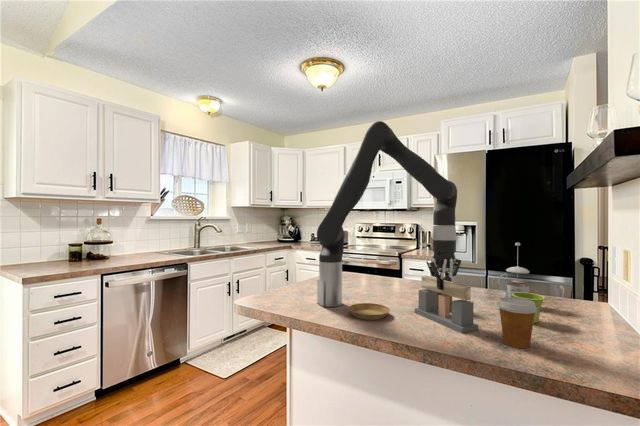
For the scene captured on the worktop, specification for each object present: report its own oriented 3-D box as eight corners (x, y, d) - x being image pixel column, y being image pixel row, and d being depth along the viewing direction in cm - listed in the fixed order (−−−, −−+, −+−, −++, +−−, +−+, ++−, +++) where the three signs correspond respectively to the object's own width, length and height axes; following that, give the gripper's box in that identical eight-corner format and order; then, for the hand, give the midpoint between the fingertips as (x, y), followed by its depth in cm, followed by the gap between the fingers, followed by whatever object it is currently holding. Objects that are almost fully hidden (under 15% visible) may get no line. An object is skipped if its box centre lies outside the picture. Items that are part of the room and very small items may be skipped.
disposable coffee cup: (490, 337, 96) (490, 297, 96) (520, 336, 97) (520, 296, 97) (511, 351, 86) (512, 306, 86) (545, 350, 87) (545, 305, 87)
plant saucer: (341, 312, 121) (341, 305, 121) (375, 307, 127) (375, 301, 127) (361, 324, 107) (361, 316, 107) (398, 319, 113) (398, 311, 113)
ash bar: (464, 300, 101) (464, 287, 101) (421, 287, 120) (421, 276, 120) (470, 299, 102) (470, 286, 102) (426, 286, 121) (426, 275, 121)
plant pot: (539, 318, 114) (539, 293, 114) (548, 327, 105) (548, 300, 105) (509, 315, 117) (509, 291, 117) (515, 323, 108) (515, 297, 108)
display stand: (461, 333, 100) (461, 305, 100) (414, 312, 120) (414, 289, 120) (478, 329, 102) (478, 302, 102) (429, 310, 123) (429, 287, 123)
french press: (535, 309, 124) (535, 244, 124) (501, 306, 128) (501, 243, 128) (528, 302, 133) (528, 241, 133) (496, 300, 137) (496, 240, 137)
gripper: (451, 237, 117) (451, 285, 117) (420, 238, 112) (420, 288, 112) (468, 238, 110) (468, 289, 110) (436, 240, 105) (435, 293, 105)
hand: (444, 288), depth 111 cm, fingers closed on ash bar, 2 cm apart
